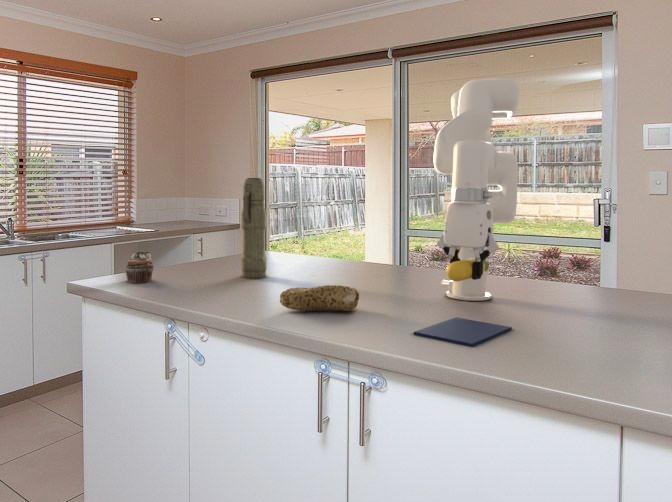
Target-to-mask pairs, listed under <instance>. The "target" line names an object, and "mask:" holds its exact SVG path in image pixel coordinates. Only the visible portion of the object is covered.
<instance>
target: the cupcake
mask: <svg viewBox="0 0 672 502" xmlns="http://www.w3.org/2000/svg"><path fill="white" fill-rule="evenodd" d="M151 257H152V255H151V253H150V252H149V251H138V252H137V251H134V252H133V254H132V255H131V256H130V258H129V259H128V260H127V265H126V266H125V267H124V270H125V275H126V279H127V282H128V283H131V284H144V283H149V282H152V278H153V272H154V268H155V265H154V260H153V259H152V258H151Z"/></svg>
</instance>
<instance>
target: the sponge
mask: <svg viewBox="0 0 672 502" xmlns="http://www.w3.org/2000/svg"><path fill="white" fill-rule="evenodd" d="M359 300H360V292H359V291H358V289H356V288H354V287H350V286H344V285H336V284H335V285H329V284H328V285H318V286H315V287H304V286H303V287H300V286H299V287H290V288H288V289H286V290H285V291H282V292H281V293H280V295H279V303H280V304H281V306H283V307H284V308H287V309H290V310H294V311H300V312H314V311H315V312H317V311H322V310H337V311H345V312H351V311H353V310H355V309H356V308H357V307H358V303H359Z"/></svg>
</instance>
